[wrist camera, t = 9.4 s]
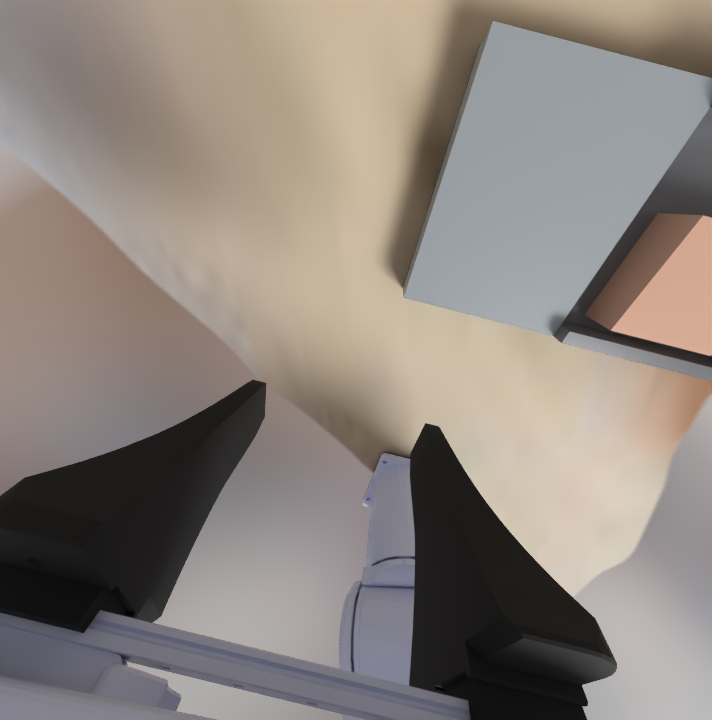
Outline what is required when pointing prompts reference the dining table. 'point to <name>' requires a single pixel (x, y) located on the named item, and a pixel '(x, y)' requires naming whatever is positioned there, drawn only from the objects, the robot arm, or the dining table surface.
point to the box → (671, 196)
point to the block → (663, 286)
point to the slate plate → (546, 174)
